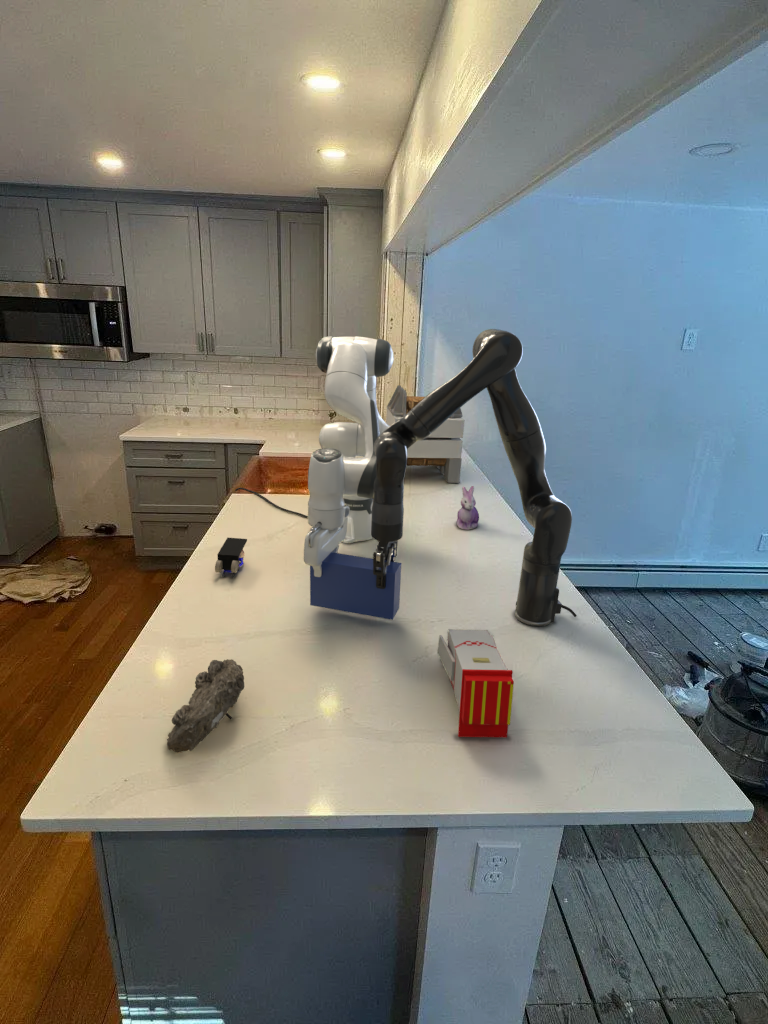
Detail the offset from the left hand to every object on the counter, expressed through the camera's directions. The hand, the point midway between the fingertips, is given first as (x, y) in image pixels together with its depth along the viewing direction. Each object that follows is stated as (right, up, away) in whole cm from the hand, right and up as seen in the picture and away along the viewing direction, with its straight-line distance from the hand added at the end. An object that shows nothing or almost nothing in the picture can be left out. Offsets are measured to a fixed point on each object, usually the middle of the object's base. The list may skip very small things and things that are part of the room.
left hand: (325, 568), depth 142 cm
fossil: (-18, -25, -34) cm, 46 cm away
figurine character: (-30, -3, +25) cm, 40 cm away
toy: (+33, -24, -24) cm, 47 cm away
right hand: (+15, -3, -3) cm, 15 cm away
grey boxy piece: (+32, +33, +133) cm, 140 cm away
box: (+7, -10, +2) cm, 12 cm away
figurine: (+46, +9, +68) cm, 82 cm away
